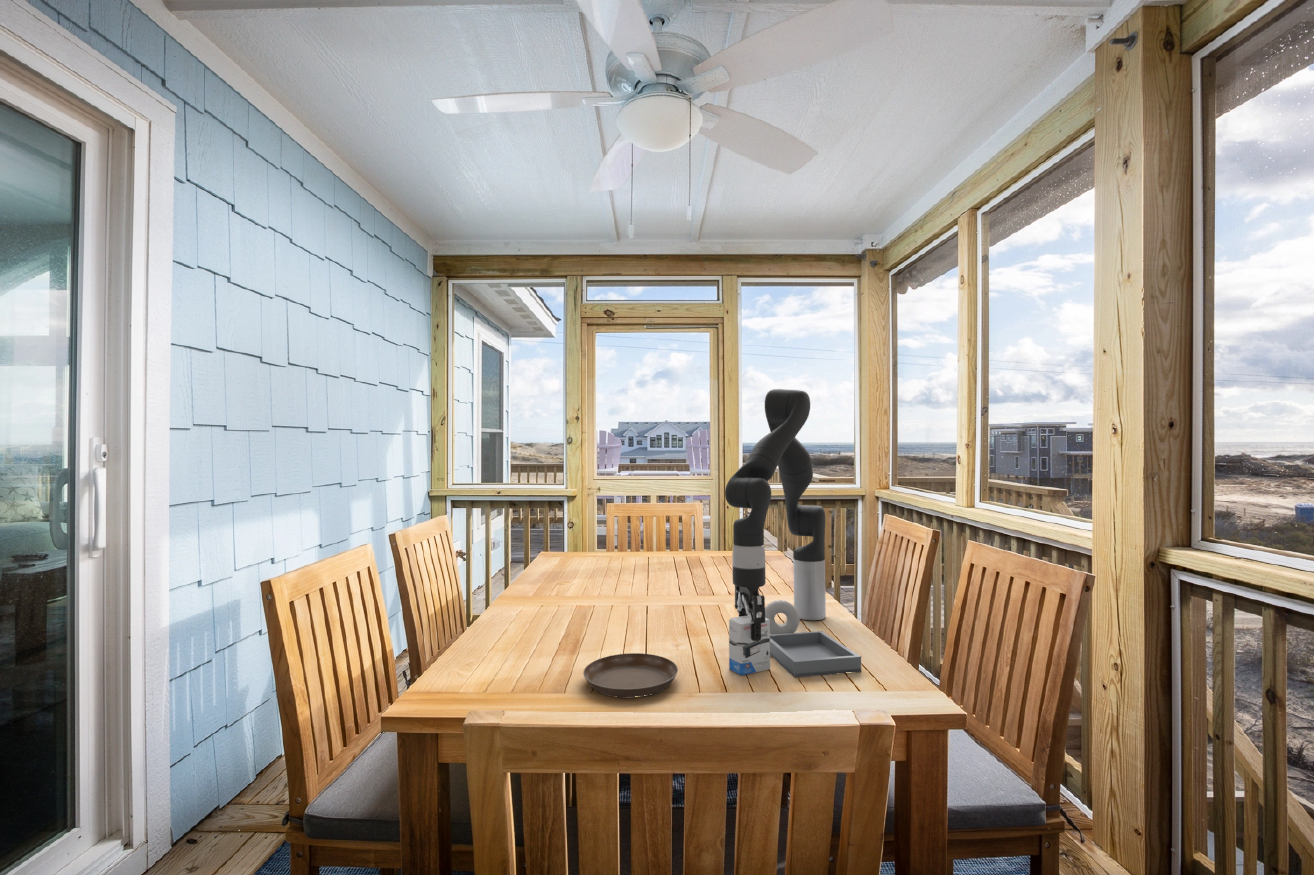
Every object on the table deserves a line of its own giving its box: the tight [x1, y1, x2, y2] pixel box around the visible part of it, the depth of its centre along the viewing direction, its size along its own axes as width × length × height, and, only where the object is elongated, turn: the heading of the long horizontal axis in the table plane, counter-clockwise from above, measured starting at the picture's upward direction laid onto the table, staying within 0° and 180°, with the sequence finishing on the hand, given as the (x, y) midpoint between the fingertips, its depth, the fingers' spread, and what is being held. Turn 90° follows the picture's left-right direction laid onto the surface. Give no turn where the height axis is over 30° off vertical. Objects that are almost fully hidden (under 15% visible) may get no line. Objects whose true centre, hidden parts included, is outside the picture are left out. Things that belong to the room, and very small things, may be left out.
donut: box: [765, 599, 801, 635], centre depth 168 cm, size 10×4×10 cm, turn 81°
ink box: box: [728, 615, 771, 676], centre depth 144 cm, size 8×5×12 cm, turn 117°
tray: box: [770, 630, 862, 679], centre depth 150 cm, size 20×16×4 cm
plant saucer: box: [582, 652, 679, 698], centre depth 137 cm, size 21×21×3 cm
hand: (749, 634), depth 144 cm, fingers open, 8 cm apart
